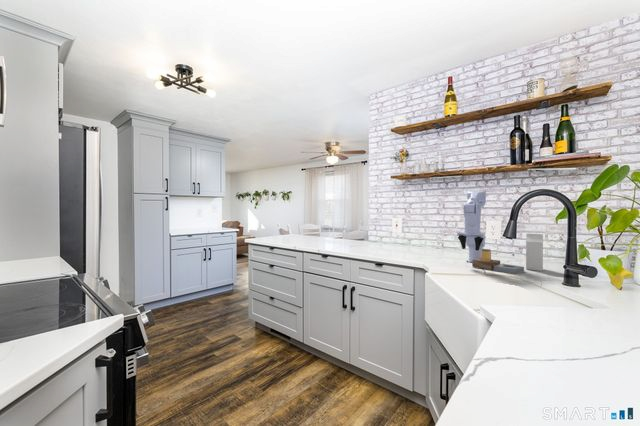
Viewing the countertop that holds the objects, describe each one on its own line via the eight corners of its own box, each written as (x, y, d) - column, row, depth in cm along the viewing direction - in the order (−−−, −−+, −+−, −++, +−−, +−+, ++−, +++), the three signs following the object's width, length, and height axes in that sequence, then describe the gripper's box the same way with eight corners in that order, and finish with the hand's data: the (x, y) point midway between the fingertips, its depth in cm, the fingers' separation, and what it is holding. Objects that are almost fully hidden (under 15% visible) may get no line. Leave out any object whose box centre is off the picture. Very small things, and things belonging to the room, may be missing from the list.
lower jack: (503, 268, 158) (503, 263, 158) (524, 271, 150) (524, 266, 150) (493, 270, 153) (493, 265, 153) (515, 274, 144) (515, 269, 144)
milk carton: (542, 271, 150) (543, 234, 150) (526, 269, 155) (526, 234, 154) (542, 268, 156) (542, 233, 156) (526, 267, 160) (526, 233, 160)
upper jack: (481, 265, 168) (481, 258, 168) (500, 267, 159) (500, 260, 159) (472, 266, 162) (472, 259, 162) (490, 270, 154) (490, 262, 154)
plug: (484, 263, 163) (484, 248, 163) (491, 263, 160) (491, 249, 160) (481, 263, 161) (481, 249, 161) (487, 264, 158) (487, 250, 158)
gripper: (454, 224, 165) (454, 248, 165) (479, 226, 153) (479, 251, 153) (461, 224, 169) (461, 247, 169) (486, 225, 156) (486, 250, 157)
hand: (470, 249), depth 161 cm, fingers open, 7 cm apart
